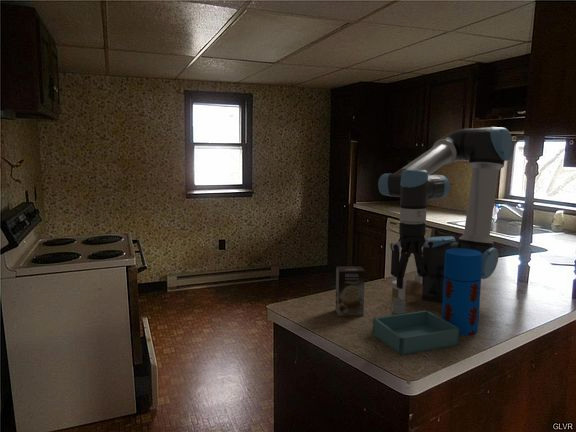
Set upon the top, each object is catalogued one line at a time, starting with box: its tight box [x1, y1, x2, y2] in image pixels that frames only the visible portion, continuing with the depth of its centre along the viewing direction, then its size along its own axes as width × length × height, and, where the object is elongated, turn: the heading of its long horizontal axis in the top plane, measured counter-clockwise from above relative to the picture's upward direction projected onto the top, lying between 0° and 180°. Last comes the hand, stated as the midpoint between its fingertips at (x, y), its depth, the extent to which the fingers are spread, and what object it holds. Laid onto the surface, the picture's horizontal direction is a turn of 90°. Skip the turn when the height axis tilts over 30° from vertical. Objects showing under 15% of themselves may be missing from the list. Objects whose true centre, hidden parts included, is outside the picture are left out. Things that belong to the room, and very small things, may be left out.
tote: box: [372, 310, 461, 356], centre depth 129 cm, size 20×16×5 cm
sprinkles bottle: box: [391, 279, 406, 315], centre depth 142 cm, size 5×5×14 cm
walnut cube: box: [404, 279, 423, 303], centre depth 130 cm, size 5×5×5 cm
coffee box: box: [335, 266, 366, 317], centre depth 150 cm, size 9×6×16 cm
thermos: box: [441, 248, 482, 336], centre depth 135 cm, size 11×11×25 cm
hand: (409, 297), depth 130 cm, fingers closed on walnut cube, 5 cm apart
